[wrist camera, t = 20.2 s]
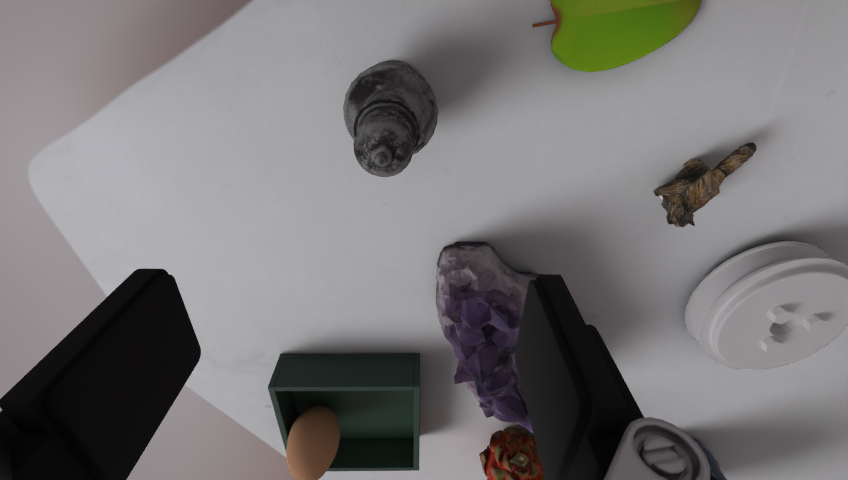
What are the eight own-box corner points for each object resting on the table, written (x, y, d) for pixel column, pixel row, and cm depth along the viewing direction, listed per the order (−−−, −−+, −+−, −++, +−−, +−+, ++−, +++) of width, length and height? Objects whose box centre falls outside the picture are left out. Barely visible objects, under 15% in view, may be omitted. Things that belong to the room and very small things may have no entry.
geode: (384, 285, 36) (385, 360, 27) (486, 207, 34) (524, 261, 25) (505, 403, 44) (537, 492, 35) (595, 345, 42) (654, 425, 33)
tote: (300, 437, 48) (291, 471, 44) (280, 353, 41) (267, 387, 37) (418, 436, 48) (418, 470, 45) (419, 353, 41) (420, 386, 37)
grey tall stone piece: (427, 148, 30) (434, 228, 19) (348, 136, 29) (311, 211, 19) (442, 64, 27) (459, 106, 16) (354, 48, 26) (315, 81, 16)
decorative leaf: (595, -93, 23) (602, -98, 22) (711, -13, 25) (722, -15, 24) (523, 41, 26) (526, 41, 25) (630, 104, 28) (637, 106, 27)
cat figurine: (631, 197, 32) (668, 214, 28) (716, 126, 30) (766, 133, 27) (646, 220, 33) (684, 239, 29) (729, 152, 32) (778, 163, 28)
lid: (738, 220, 33) (785, 252, 29) (856, 254, 35) (917, 289, 31) (652, 327, 40) (681, 367, 35) (757, 351, 42) (797, 392, 37)
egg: (289, 397, 43) (266, 472, 36) (334, 389, 43) (319, 463, 36) (308, 426, 46) (290, 500, 39) (351, 418, 45) (339, 492, 38)
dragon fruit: (494, 396, 47) (529, 433, 54) (449, 458, 45) (492, 489, 52) (554, 441, 40) (586, 478, 47) (505, 517, 38) (546, 544, 45)
